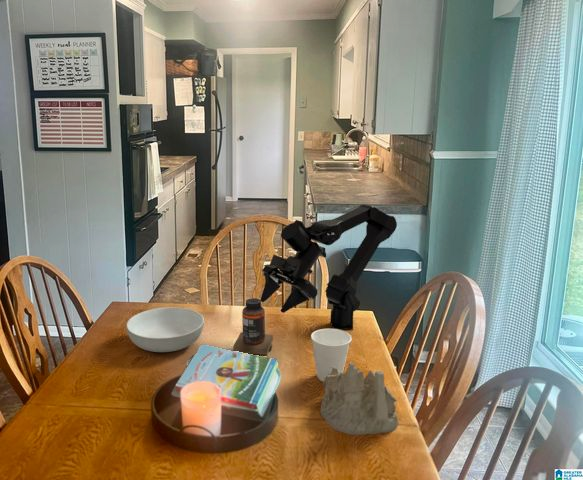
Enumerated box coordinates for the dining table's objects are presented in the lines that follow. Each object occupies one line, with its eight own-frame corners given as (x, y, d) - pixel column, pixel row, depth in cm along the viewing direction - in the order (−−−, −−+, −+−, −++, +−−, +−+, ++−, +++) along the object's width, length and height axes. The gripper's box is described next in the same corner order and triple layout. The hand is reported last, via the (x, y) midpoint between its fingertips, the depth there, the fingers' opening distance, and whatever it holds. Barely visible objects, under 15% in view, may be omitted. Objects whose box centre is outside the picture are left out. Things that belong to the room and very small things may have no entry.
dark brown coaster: (272, 348, 144) (272, 334, 143) (266, 363, 135) (267, 349, 134) (240, 345, 145) (240, 332, 144) (233, 360, 136) (232, 346, 135)
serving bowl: (111, 352, 139) (109, 328, 138) (158, 323, 158) (157, 302, 157) (176, 368, 132) (176, 343, 130) (218, 336, 151) (218, 314, 149)
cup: (354, 373, 131) (357, 333, 129) (341, 391, 123) (343, 349, 120) (318, 364, 135) (319, 325, 133) (302, 382, 127) (304, 340, 124)
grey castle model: (403, 434, 107) (404, 366, 104) (323, 436, 106) (322, 368, 104) (387, 398, 122) (389, 337, 119) (318, 399, 122) (317, 339, 119)
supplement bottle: (261, 334, 143) (261, 295, 140) (267, 343, 138) (268, 303, 135) (239, 337, 141) (239, 297, 138) (245, 346, 136) (245, 305, 133)
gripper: (267, 236, 147) (234, 281, 143) (310, 251, 133) (275, 301, 129) (289, 259, 153) (258, 302, 150) (332, 275, 139) (299, 323, 135)
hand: (271, 306), depth 141 cm, fingers open, 9 cm apart
